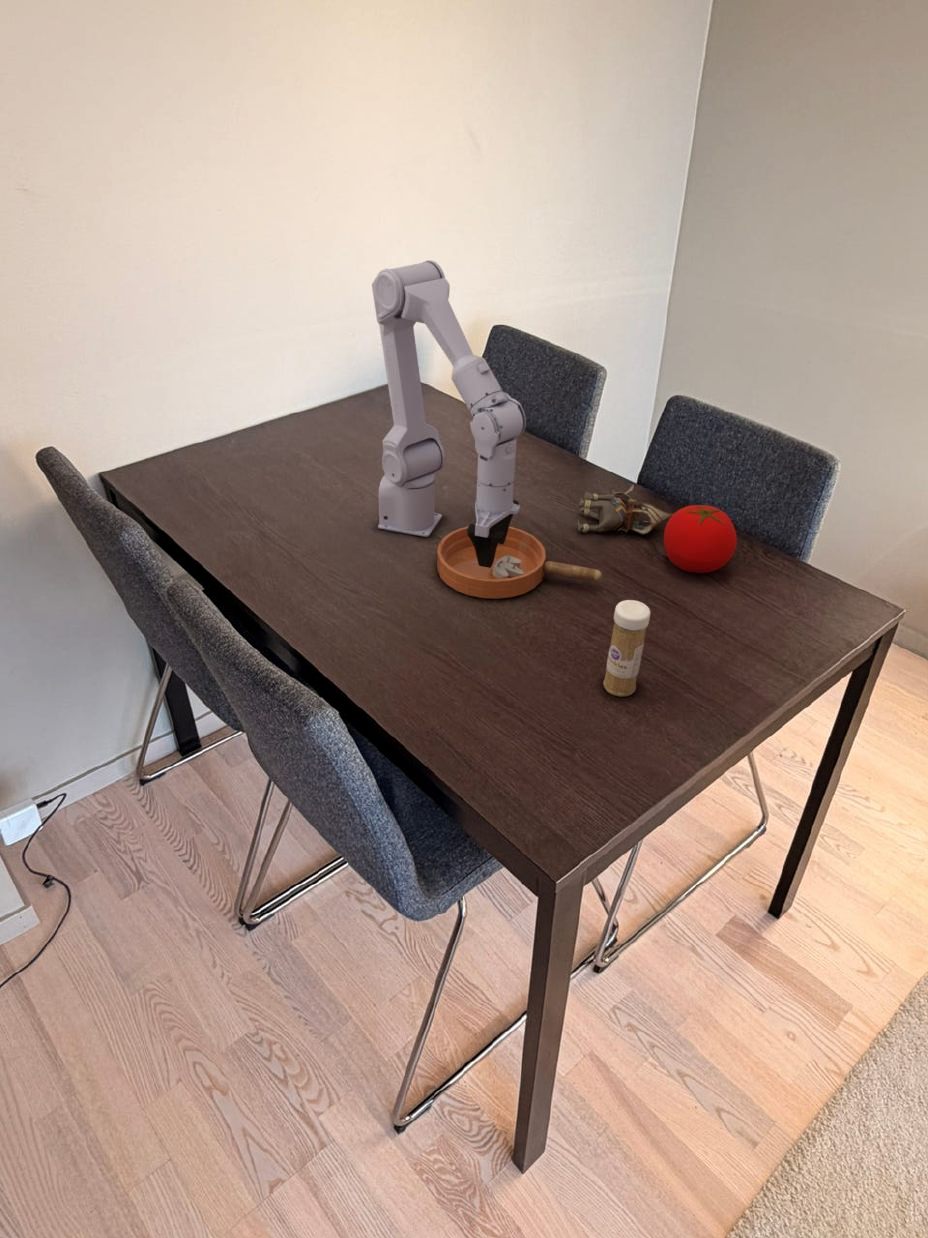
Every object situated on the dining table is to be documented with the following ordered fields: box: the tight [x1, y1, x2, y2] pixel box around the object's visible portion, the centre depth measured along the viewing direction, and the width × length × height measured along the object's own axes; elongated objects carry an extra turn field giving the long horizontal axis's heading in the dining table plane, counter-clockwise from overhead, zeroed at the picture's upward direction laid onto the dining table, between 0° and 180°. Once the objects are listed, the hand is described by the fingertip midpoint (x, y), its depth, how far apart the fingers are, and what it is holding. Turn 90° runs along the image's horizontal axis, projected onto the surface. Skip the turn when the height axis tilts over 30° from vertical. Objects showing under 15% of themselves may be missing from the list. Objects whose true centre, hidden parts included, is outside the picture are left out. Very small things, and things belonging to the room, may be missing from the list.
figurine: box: [576, 484, 675, 535], centre depth 155 cm, size 20×6×17 cm
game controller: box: [464, 556, 524, 579], centre depth 142 cm, size 6×12×3 cm, turn 79°
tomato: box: [663, 503, 738, 574], centre depth 144 cm, size 11×12×10 cm
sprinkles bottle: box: [602, 599, 651, 698], centre depth 117 cm, size 5×5×13 cm
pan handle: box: [543, 560, 603, 583], centre depth 140 cm, size 10×2×2 cm, turn 73°
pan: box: [436, 525, 547, 600], centre depth 143 cm, size 18×18×4 cm
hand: (491, 553), depth 142 cm, fingers open, 7 cm apart
